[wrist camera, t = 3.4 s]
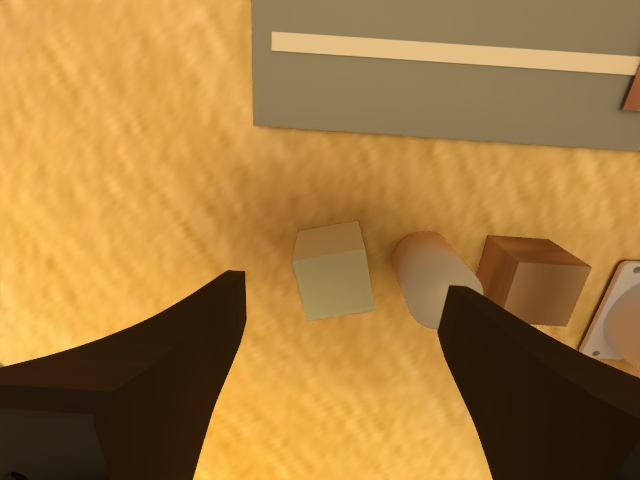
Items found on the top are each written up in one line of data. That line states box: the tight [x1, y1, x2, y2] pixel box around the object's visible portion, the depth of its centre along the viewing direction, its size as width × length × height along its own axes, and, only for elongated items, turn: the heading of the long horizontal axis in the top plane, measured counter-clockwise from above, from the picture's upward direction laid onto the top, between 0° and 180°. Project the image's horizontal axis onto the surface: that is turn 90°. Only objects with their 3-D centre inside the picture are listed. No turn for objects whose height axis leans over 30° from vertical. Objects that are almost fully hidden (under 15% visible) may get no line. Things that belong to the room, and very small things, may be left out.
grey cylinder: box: [392, 231, 483, 329], centre depth 20 cm, size 4×4×5 cm
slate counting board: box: [251, 0, 640, 152], centre depth 17 cm, size 24×8×2 cm, turn 86°
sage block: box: [292, 220, 375, 321], centre depth 21 cm, size 4×4×4 cm
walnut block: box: [476, 235, 592, 326], centre depth 21 cm, size 4×4×4 cm
